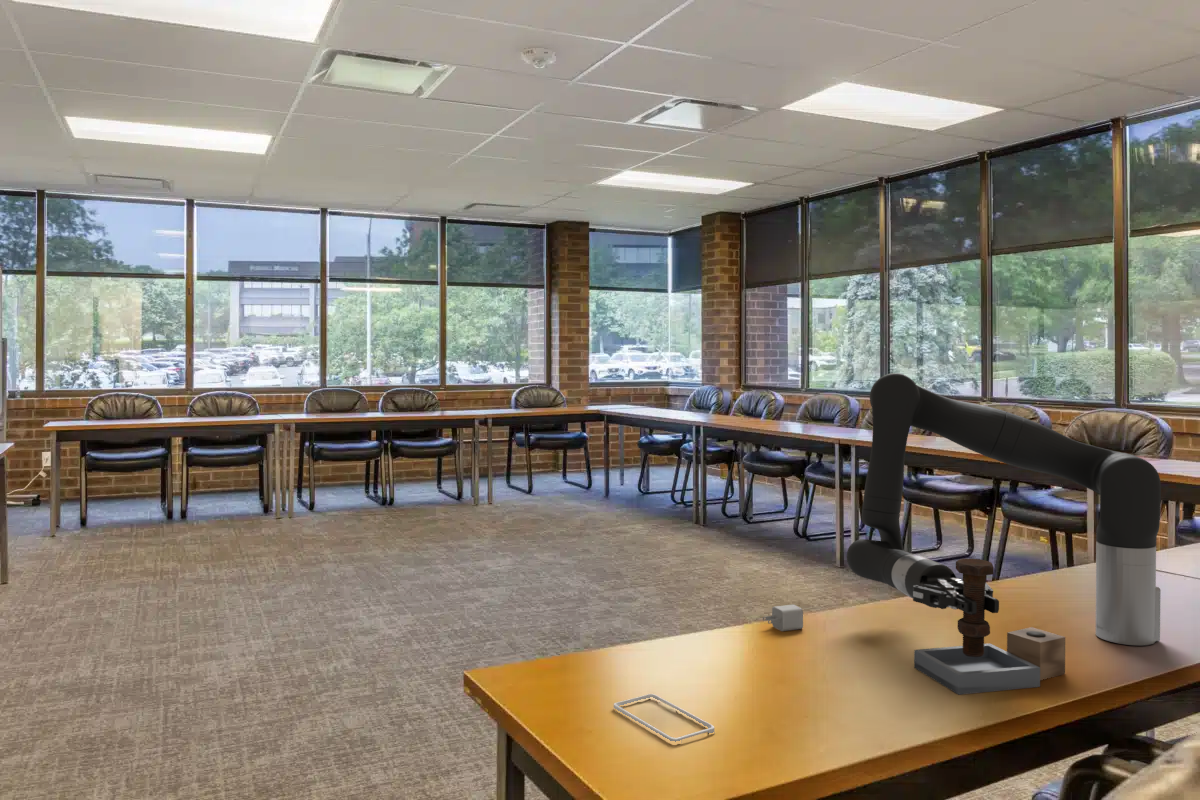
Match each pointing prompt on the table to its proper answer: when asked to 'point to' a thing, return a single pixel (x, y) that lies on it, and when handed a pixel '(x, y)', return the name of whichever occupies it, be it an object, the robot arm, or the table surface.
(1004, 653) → the tray
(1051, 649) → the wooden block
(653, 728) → the phone case
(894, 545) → the robot arm
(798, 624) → the usb wall charger
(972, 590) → the bolt
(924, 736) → the table surface
